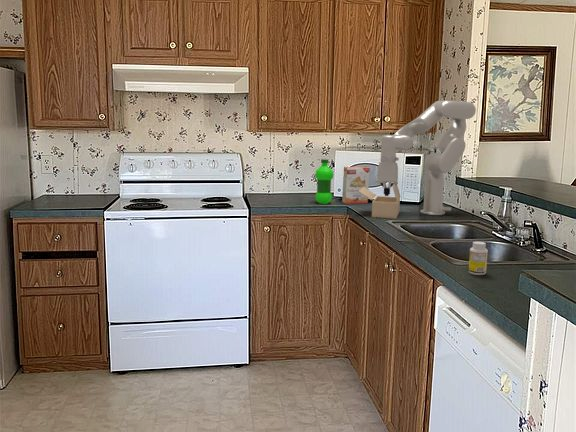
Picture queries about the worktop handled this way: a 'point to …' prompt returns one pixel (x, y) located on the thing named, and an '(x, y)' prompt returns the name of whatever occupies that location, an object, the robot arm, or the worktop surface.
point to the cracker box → (355, 184)
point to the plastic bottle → (324, 183)
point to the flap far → (367, 193)
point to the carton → (385, 207)
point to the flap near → (396, 192)
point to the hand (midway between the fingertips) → (386, 195)
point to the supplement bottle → (478, 258)
